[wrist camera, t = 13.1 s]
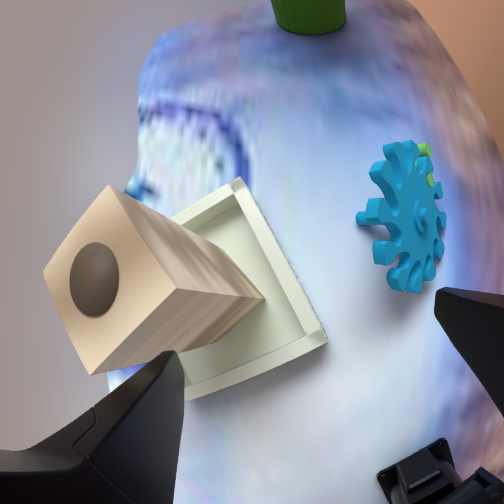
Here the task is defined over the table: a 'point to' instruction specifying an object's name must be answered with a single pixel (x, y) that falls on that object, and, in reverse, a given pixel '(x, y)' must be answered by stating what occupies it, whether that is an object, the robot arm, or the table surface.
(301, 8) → the wine bottle
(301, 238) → the table surface
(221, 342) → the sage tray
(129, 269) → the maple block
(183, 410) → the robot arm
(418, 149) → the gear
